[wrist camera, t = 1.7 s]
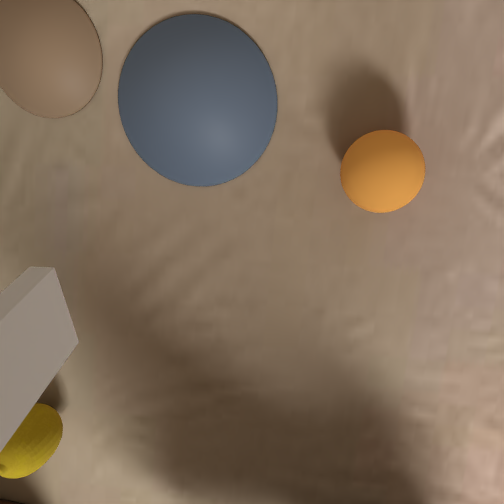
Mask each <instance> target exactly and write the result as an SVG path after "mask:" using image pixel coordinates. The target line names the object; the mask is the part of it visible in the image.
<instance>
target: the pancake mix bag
mask: <svg viewBox="0 0 504 504" xmlns="http://www.w3.org/2000/svg"><path fill="white" fill-rule="evenodd" d="M0 504H22V503H16V502H11V501H7V500H2V499H0Z"/></svg>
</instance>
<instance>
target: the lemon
mask: <svg viewBox="0 0 504 504" xmlns="http://www.w3.org/2000/svg"><path fill="white" fill-rule="evenodd" d="M62 431H63V424H62V420H61V417H60V416H59V414H58V412H57V411H56V410H55V409H54V408H52V407H50V406H49V405H46V404H42V403H35V405H34V406H33V407H32V409H31V410H30V412H29V413H28V414H27V416H26V417H25V419H24V420H23V421H22V423H21V424H20V426H19V427H18V428H17V430H16V431H15V433H14V434H13V435H12V437H11V438H10V440H9V441H8V442H7V444H6V445H5V447H4V448H3V449H2V451H1V452H0V476H2V477H6V478H21V477H25V476H28V475H29V474H31V473H33V472H35V471H36V470H38V469H39V468H40V467H41V466H42V465H44V464H45V463H46V462H47V460H48V459H49V458H50V457H51V456H52V455H53V453H54V452H55V450H56V449H57V447H58V445H59V442H60V440H61V437H62Z"/></svg>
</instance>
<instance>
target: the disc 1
mask: <svg viewBox="0 0 504 504" xmlns="http://www.w3.org/2000/svg"><path fill="white" fill-rule="evenodd" d="M102 66H103V61H102V50H101V45H100V41H99V37H98V35H97V32H96V30H95V28H94V25H93V23H92V22H91V20H90V18H89V17H88V15H87V14H86V13H85V11H84V10H83V9H82V8H81V7H80V6H79V5H78V4H77V3H76V2H75V1H74V0H1V1H0V86H1V87H2V89H3V90H4V92H5V93H6V94H7V95H8V96H9V97H10V98H11V99H12V100H13V101H14V102H15V103H16V104H17V105H19V106H20V107H21V108H23V109H25V110H26V111H28V112H30V113H33V114H35V115H38V116H42V117H47V118H60V117H66V116H69V115H72V114H74V113H76V112H78V111H79V110H81V109H82V108H83V107H85V106H86V105H87V104H88V103H89V102H90V100H91V99H92V97H93V96H94V94H95V92H96V90H97V88H98V86H99V83H100V79H101V75H102Z"/></svg>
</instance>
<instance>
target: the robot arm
mask: <svg viewBox="0 0 504 504" xmlns="http://www.w3.org/2000/svg"><path fill="white" fill-rule="evenodd" d="M78 343H79V341H78V338H77V335H76V332H75V329H74V325H73V322H72V319H71V316H70V313H69V310H68V307H67V304H66V301H65V298H64V295H63V292H62V289H61V286H60V283H59V280H58V277H57V274H56V271H55V268H54V267H28V268H27V269H26V270H25V271H24V272H23V273H22V274H21V275H20V276H19V277H17V278H16V279H15V280H14V281H13V282H12V283H11V284H10V285H9V286H8V287H6V288H5V289H4V290H3V291H2V292H1V293H0V452H1V451H2V449H3V448H4V447H5V445H6V444H7V442H8V441H9V440H10V438H11V437H12V435H13V434H14V433H15V431H16V430H17V428H18V427H19V426H20V424H21V423H22V421H23V420H24V419H25V417H26V416H27V414H28V413H29V412H30V410H31V409H32V407H33V406H34V405H35V403H36V402H37V400H38V399H39V398H40V396H41V395H42V393H43V392H44V391H45V389H46V388H47V386H48V385H49V384H50V382H51V381H52V379H53V378H54V377H55V375H56V374H57V372H58V371H59V370H60V368H61V367H62V365H63V364H64V363H65V361H66V360H67V358H68V357H69V355H70V354H71V353H72V351H73V350H74V348H75V347H76V346H77V344H78Z"/></svg>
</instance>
